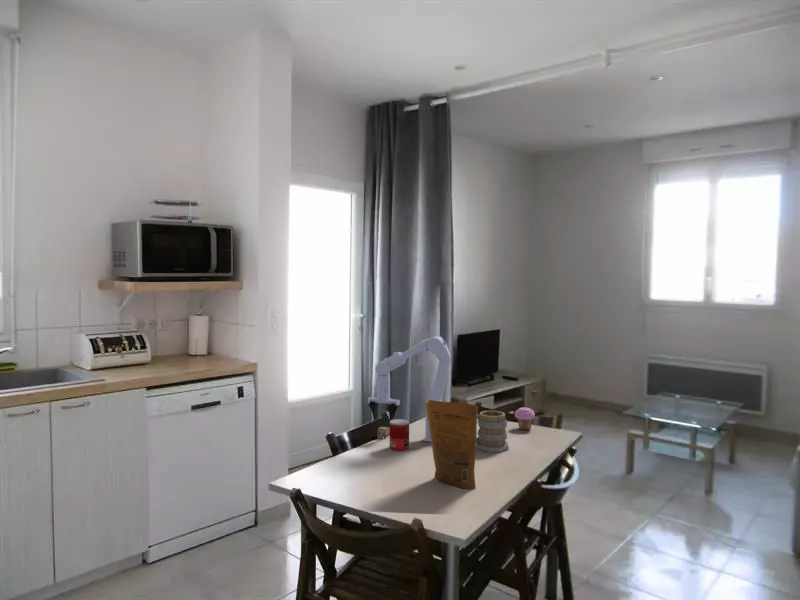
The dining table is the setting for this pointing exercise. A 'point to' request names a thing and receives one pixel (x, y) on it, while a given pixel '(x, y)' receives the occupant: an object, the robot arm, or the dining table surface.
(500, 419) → the tankard
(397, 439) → the canned food
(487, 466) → the dining table surface
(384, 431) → the letter cube
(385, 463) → the dining table surface
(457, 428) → the pancake mix bag
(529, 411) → the cupcake
